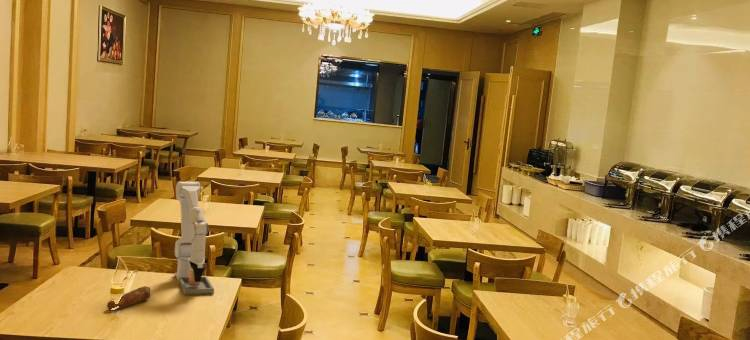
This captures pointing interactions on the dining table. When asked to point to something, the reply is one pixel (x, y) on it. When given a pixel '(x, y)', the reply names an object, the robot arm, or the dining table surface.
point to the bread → (131, 298)
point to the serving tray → (202, 289)
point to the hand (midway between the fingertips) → (196, 279)
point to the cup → (192, 279)
